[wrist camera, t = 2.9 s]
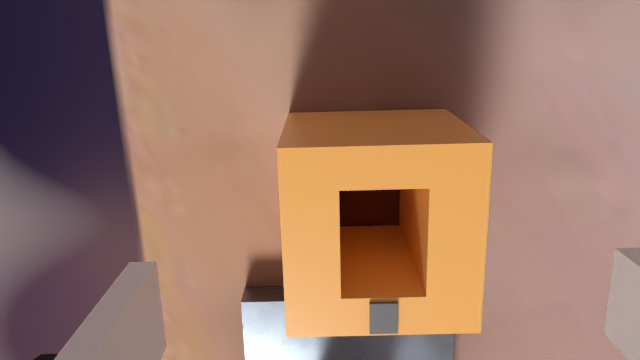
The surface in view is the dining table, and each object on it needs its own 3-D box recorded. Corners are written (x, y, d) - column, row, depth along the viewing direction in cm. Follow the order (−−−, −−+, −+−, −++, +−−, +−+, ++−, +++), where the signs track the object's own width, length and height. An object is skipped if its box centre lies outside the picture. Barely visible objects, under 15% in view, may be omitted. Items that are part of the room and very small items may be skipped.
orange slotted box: (288, 112, 24) (276, 149, 18) (445, 108, 24) (494, 143, 18) (295, 256, 26) (285, 339, 20) (439, 252, 26) (481, 335, 20)
